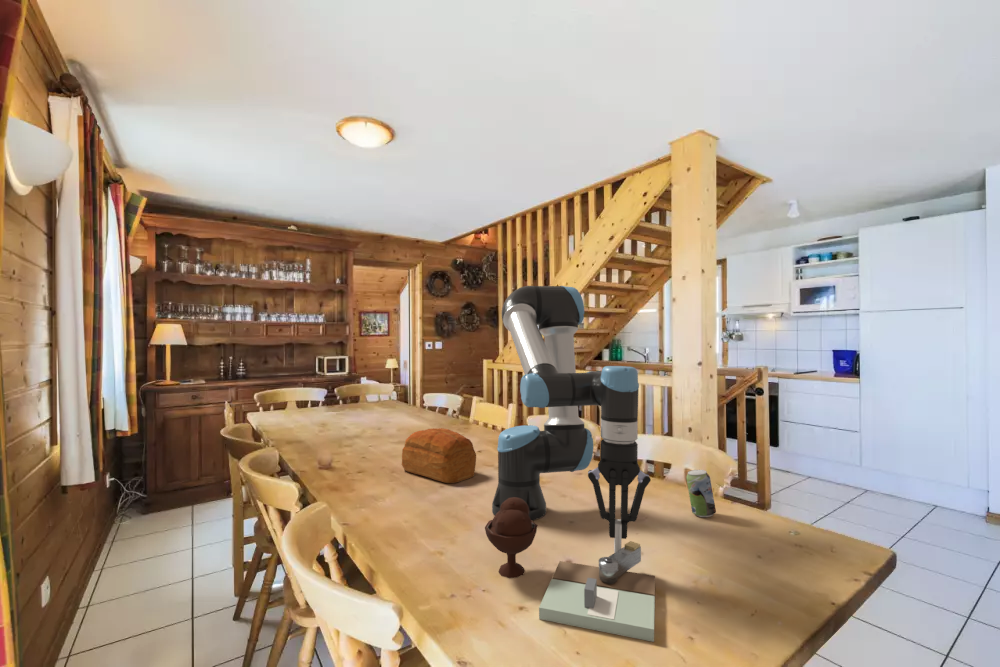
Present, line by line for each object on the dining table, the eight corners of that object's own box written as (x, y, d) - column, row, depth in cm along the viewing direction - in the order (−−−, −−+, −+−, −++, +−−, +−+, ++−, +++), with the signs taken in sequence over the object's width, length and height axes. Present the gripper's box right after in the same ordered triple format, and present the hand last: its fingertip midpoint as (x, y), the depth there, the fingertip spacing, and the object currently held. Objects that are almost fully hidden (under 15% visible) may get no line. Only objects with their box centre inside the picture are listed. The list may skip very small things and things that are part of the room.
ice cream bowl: (483, 560, 102) (483, 492, 102) (533, 557, 103) (533, 490, 103) (486, 586, 91) (485, 510, 91) (542, 583, 92) (541, 508, 92)
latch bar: (611, 585, 87) (611, 565, 87) (595, 578, 89) (595, 559, 89) (643, 562, 95) (643, 544, 95) (627, 556, 98) (627, 539, 98)
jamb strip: (552, 587, 90) (552, 575, 90) (559, 570, 97) (559, 559, 97) (654, 605, 84) (654, 593, 84) (655, 585, 91) (655, 574, 91)
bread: (447, 486, 152) (446, 438, 152) (397, 471, 169) (397, 428, 169) (480, 475, 164) (480, 430, 164) (431, 462, 182) (431, 421, 182)
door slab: (539, 618, 80) (538, 589, 80) (551, 589, 90) (551, 562, 90) (653, 641, 74) (653, 609, 74) (654, 607, 84) (654, 578, 84)
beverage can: (718, 520, 122) (718, 475, 122) (689, 518, 124) (688, 473, 124) (712, 511, 129) (712, 468, 129) (684, 509, 130) (684, 467, 130)
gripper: (587, 442, 94) (586, 558, 94) (653, 445, 92) (652, 564, 92) (587, 434, 102) (586, 542, 101) (648, 437, 99) (647, 548, 99)
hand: (617, 552), depth 97 cm, fingers closed
